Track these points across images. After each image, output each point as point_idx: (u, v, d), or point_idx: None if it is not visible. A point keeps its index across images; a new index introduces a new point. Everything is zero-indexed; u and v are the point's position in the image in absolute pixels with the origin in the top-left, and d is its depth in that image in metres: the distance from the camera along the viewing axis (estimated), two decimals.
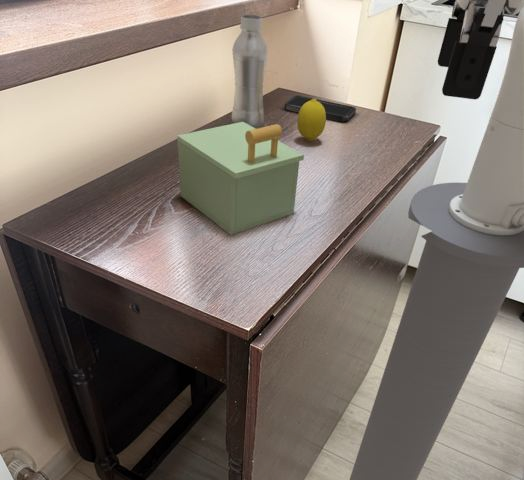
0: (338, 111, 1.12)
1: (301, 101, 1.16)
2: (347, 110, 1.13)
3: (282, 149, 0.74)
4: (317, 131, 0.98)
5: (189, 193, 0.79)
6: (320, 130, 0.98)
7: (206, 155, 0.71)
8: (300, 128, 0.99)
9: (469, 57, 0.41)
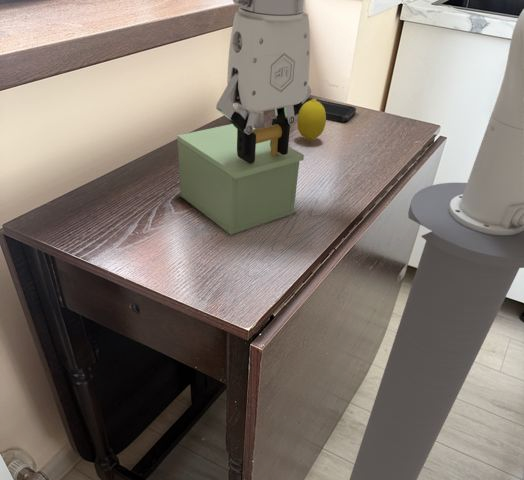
0: (338, 111, 1.12)
1: None
2: (347, 110, 1.13)
3: None
4: (317, 131, 0.98)
5: (189, 193, 0.79)
6: (320, 130, 0.98)
7: (206, 155, 0.71)
8: (300, 128, 0.99)
9: (239, 136, 0.67)
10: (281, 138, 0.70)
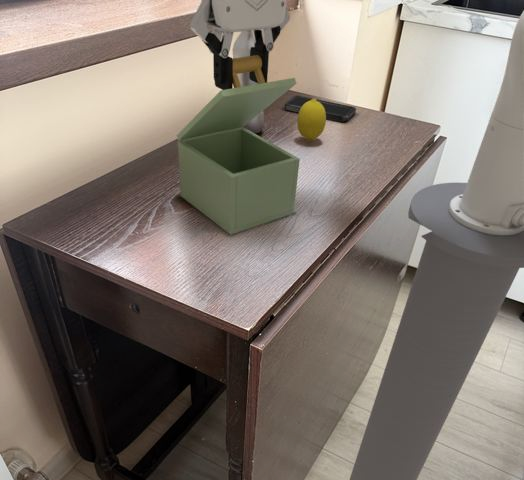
0: (338, 111, 1.12)
1: (301, 101, 1.16)
2: (347, 110, 1.13)
3: None
4: (317, 131, 0.98)
5: (189, 193, 0.79)
6: (320, 130, 0.98)
7: (198, 114, 0.69)
8: (300, 128, 0.99)
9: (215, 62, 0.65)
10: None
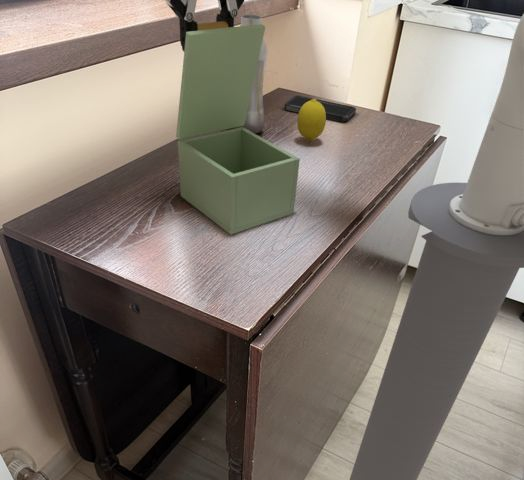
0: (338, 112, 1.12)
1: (301, 101, 1.16)
2: (347, 110, 1.13)
3: None
4: (317, 131, 0.98)
5: (189, 193, 0.79)
6: (320, 130, 0.98)
7: (181, 86, 0.69)
8: (300, 128, 0.99)
9: (181, 26, 0.68)
10: None
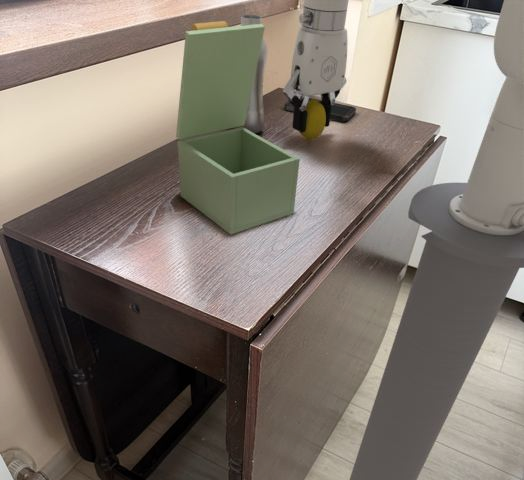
0: (338, 111, 1.12)
1: None
2: (347, 110, 1.13)
3: None
4: (317, 131, 0.98)
5: (189, 193, 0.79)
6: (320, 130, 0.98)
7: (181, 85, 0.69)
8: None
9: (295, 113, 0.96)
10: None
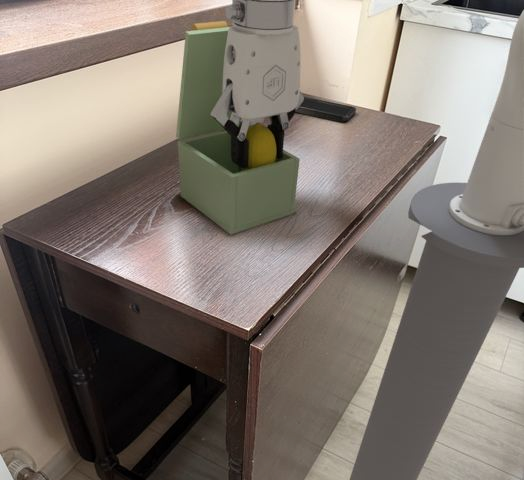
0: (338, 111, 1.12)
1: None
2: (347, 110, 1.13)
3: None
4: None
5: (189, 193, 0.79)
6: None
7: (181, 85, 0.69)
8: None
9: (233, 143, 0.70)
10: (276, 143, 0.73)
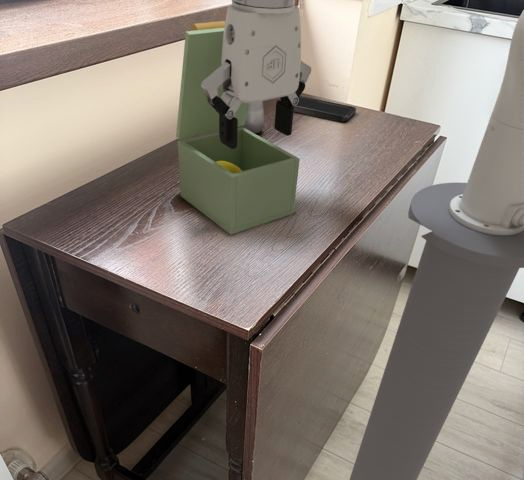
0: (338, 111, 1.12)
1: (301, 101, 1.16)
2: (347, 110, 1.13)
3: None
4: None
5: (189, 193, 0.79)
6: None
7: (181, 85, 0.69)
8: None
9: (221, 121, 0.67)
10: (285, 119, 0.72)
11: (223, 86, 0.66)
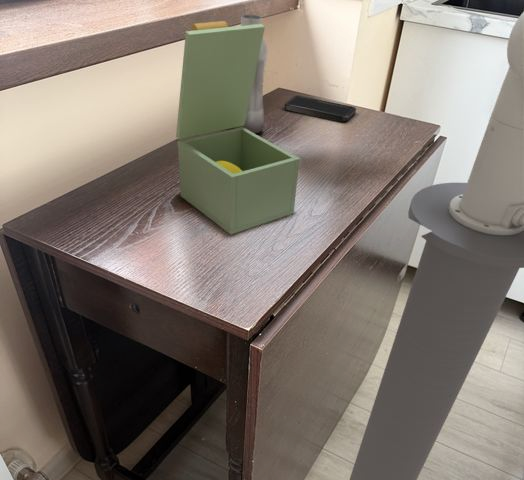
0: (338, 111, 1.12)
1: (301, 101, 1.16)
2: (347, 110, 1.13)
3: None
4: None
5: (189, 193, 0.79)
6: None
7: (181, 85, 0.69)
8: None
9: None
10: None
11: None
